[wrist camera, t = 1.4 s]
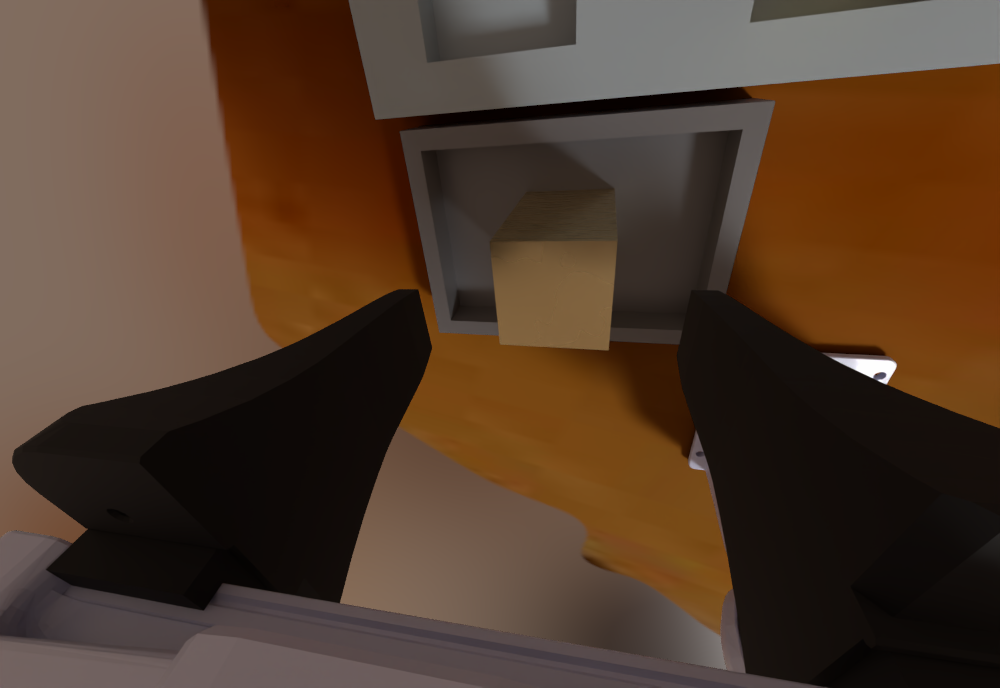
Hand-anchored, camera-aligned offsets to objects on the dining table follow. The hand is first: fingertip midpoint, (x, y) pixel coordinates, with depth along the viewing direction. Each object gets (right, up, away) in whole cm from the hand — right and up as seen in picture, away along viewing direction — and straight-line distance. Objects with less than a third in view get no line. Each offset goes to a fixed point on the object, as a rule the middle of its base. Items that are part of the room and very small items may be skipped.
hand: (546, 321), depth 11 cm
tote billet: (+2, +5, +8) cm, 10 cm away
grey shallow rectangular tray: (+2, +5, +9) cm, 11 cm away
